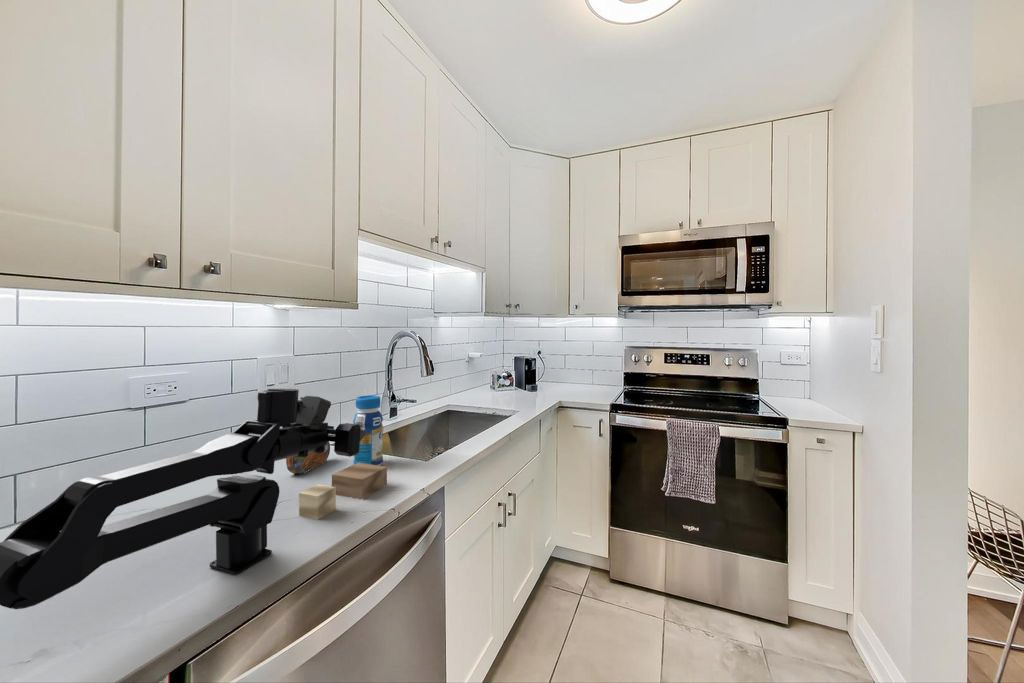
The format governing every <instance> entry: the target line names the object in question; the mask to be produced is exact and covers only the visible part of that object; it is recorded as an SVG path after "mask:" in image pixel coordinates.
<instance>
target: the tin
mask: <svg viewBox="0 0 1024 683" xmlns="http://www.w3.org/2000/svg"><path fill="white" fill-rule="evenodd" d="M330 452H331V443H330V441H327V444H326V446H325V447H324V452H323V453H316V452H311V453H308V456H307V457H298V456H294V457H290V458H286V460H285V463H286V468H287V470H288V471H289V473H291V474H298V473H299V475H303V474H302V473H304V472H306V471H308V470H310V469H312V468H314V467H316V466H318V467H319V465H320V466H321V464H322V465H323V464H324V463H326V461H327V460H328V458H329V456H330ZM316 468H317V467H316ZM314 469H315V468H314ZM312 470H313V469H312ZM310 471H311V470H310ZM308 472H309V471H308ZM306 473H307V472H306ZM304 474H305V473H304Z"/></svg>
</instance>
